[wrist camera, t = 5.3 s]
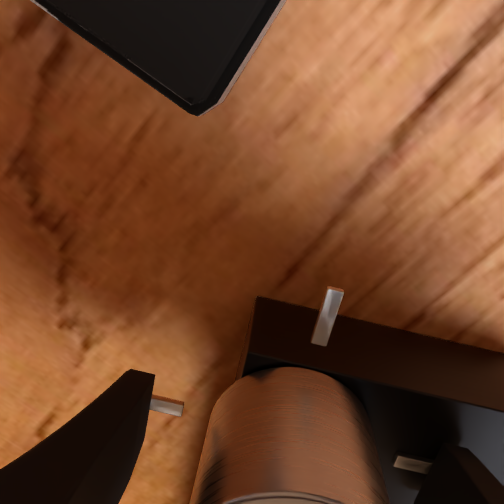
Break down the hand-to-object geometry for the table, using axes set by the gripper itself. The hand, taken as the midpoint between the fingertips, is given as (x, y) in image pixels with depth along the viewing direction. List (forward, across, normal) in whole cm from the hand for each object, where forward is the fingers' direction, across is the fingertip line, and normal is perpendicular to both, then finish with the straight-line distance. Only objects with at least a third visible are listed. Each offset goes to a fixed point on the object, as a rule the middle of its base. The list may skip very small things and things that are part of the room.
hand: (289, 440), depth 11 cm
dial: (0, 0, 0) cm, 0 cm away
